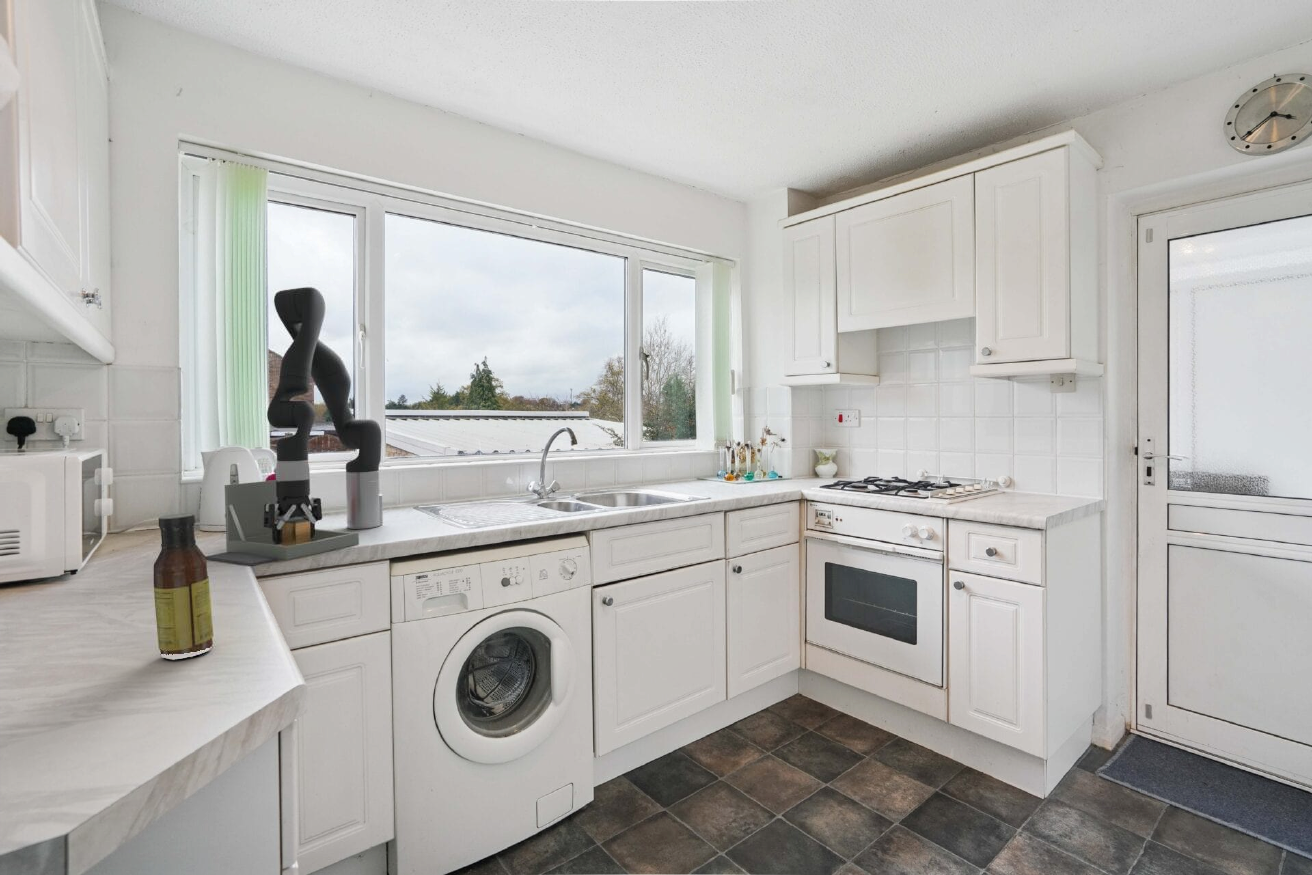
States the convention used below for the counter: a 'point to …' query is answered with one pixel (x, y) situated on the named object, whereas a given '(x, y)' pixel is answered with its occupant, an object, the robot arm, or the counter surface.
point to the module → (295, 532)
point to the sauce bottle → (181, 589)
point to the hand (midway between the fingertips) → (294, 540)
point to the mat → (240, 558)
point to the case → (257, 540)
